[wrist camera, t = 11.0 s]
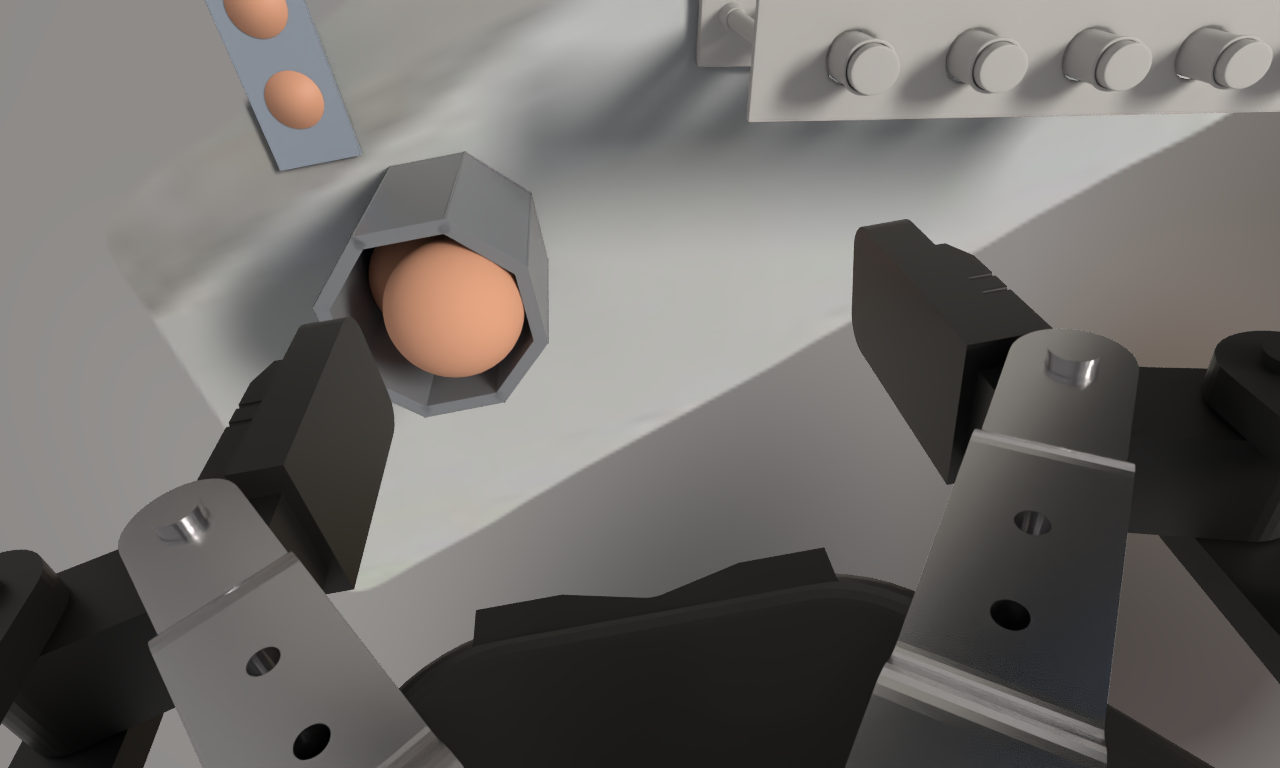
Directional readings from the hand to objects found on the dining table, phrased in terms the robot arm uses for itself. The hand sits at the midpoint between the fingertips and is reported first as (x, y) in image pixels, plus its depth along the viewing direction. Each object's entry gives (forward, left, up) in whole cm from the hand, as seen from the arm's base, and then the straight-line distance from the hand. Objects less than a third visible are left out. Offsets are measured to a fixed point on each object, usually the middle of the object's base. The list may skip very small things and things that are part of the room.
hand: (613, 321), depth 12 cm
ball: (+8, -7, -19) cm, 22 cm away
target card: (-2, -13, -28) cm, 30 cm away
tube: (+9, -8, -28) cm, 30 cm away
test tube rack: (+2, +18, -28) cm, 33 cm away
